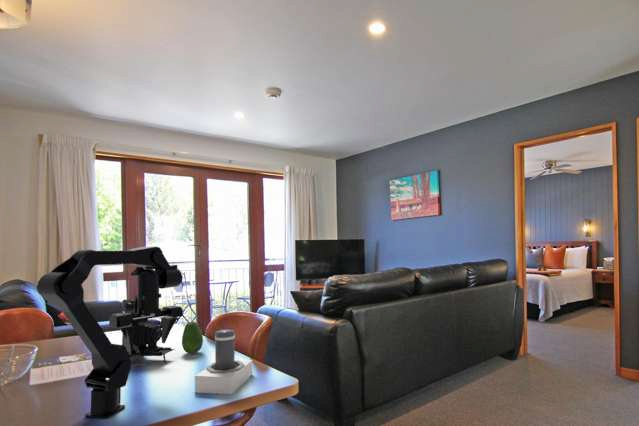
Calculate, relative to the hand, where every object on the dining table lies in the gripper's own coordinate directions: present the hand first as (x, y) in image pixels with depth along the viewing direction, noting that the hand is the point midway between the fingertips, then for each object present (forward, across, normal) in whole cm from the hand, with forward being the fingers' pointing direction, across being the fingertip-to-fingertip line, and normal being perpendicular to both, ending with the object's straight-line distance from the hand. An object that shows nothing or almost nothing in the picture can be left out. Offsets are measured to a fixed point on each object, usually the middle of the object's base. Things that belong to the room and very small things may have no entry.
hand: (147, 346), depth 106 cm
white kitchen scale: (+13, -19, +10) cm, 25 cm away
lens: (+12, -19, +10) cm, 24 cm away
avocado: (+13, -30, -27) cm, 42 cm away
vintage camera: (+13, -14, -30) cm, 36 cm away
